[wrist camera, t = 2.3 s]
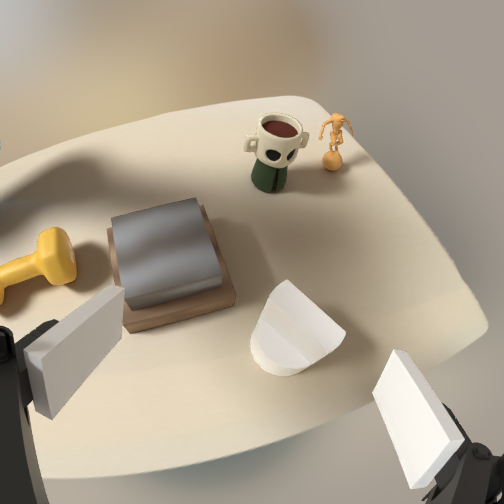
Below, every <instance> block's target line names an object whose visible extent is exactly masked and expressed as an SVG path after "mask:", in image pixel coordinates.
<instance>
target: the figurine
mask: <svg viewBox="0 0 504 504" xmlns="http://www.w3.org/2000/svg"><path fill="white" fill-rule="evenodd" d="M331 122H332V127H333V131H331V132H330V136H331V141H332V142H331V143H330V151H328V152H327V153H325V154H324V156H323V160H322V161H323V165H324V166H325V168H327V169H328V170H331V171H334V170H337V169H339V168H340V167H341V165H342V157H341V155H340V154H339V152H338V148H337V145H340V144H342V143H343V138H342V130H340V128H341V127H342V126H343V122H347V123H348V126H349V128H350V130H351V131H352V127H351V126H350V122H349V121H348V120H347V119H345V118H344V116H343V115H339V114H337V113H334V114H333V115H332V116H331V118H330V119H329V120H327V121H326V122H324V123H323V124H322V129H321V133H320V135H319V138H320V139H321V141H322V138H323V136H322V133H323V131H324V128H325V125H327V124H329V123H331ZM336 135H337V136H336ZM352 135H353V131H352ZM337 139H338V140H339V141H337V142H336V140H337ZM333 145H335V151H332V146H333Z"/></svg>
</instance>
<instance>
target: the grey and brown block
mask: <svg viewBox="0 0 504 504" xmlns="http://www.w3.org/2000/svg"><path fill="white" fill-rule="evenodd" d="M111 221H112V228H108V229H107V234H108V242H109V250H110V257H111V263H112V270H113V276H114V282H115V285H116V286H119V287H122V288H125V294H124V306H123V321H122V323H123V326H124V327H125V328H126V329H127V331H128V332H129V333H130V334H131V333H135V332H139V331H143V330H146V329H150V328H154V327H158V326H162V325H165V324H169V323H173V322H177V321H180V320H184V319H188V318H191V317H195V316H198V315H202V314H206V313H209V312H213V311H216V310H220V309H223V308H227V307H230V306H233V305H234V301H235V296H236V293H235V291H234V288H233V285H232V283H231V280H230V277H229V275H228V272H227V269H226V266H225V264H224V261H223V258H222V255H221V253H220V250H219V247H218V245H217V242H216V239H215V236H214V233H213V231H212V228H211V225H210V222H209V219H208V217H207V214H206V211H205V208H204V205H203V206H199V205H198V202H197V199H196V198H192V199H187V200H183V201H178V202H174V203H169V204H165V205H161V206H157V207H153V208H148V209H144V210H140V211H136V212H132V213H128V214H124V215H120V216H117V217H113V218H111Z"/></svg>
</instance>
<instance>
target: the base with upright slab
mask: <svg viewBox="0 0 504 504" xmlns="http://www.w3.org/2000/svg"><path fill="white" fill-rule="evenodd" d="M345 335H346V332H345V331H344V330H343V329H342V328H341V327H340V326H339V325H338V324H336V323H335V322H334V321H333V320H332V319H331V318H330V317H329V316H328V315H326V314H325V313H324V312H323V311H322V310H321V309H320V308H319V307H318V306H316V305H315V304H314V303H313V302H312V301H311V300H310V299H309V298H308V297H306V296H305V295H304V294H303V293H302V292H301V291H300V290H299V289H297V288H296V287H295V286H294V285H293V284H292V283H291V282H290V281H289V280H285V281H283V282H282V283H280V284H279V285H278V286H276V287H275V289H274V290H273V291H272V292H271V294H270V295H269V297H268V300H267V302H266V304H265V306H264V309H263V311H262V313H261V315H260V317H259V320H258V322H257V324H256V326H255V328H254V331H253V333H252V335H251V342H250V346H251V353H252V355H253V357H254V359H255V361H256V362H257V364H258V365H259V366H260V367H261V368H262V369H264V370H265V371H266V372H268V373H270V374H273V375H276V376H290V375H294V374H296V373H299V372H301V371H302V370H304V369H306V368H307V367H309V366H310V365H312V364H314V363H315V362H317V361H318V360H320V359H321V358H323V357H325V356H326V355H328V354H329V353H331V352H332V351H333V350H334V349H336V348H337V347H338V346H339V345H340V344H341V342H342V340H343V339H344V337H345Z"/></svg>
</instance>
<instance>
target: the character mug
mask: <svg viewBox="0 0 504 504" xmlns="http://www.w3.org/2000/svg"><path fill="white" fill-rule="evenodd" d="M301 138H303V139H302V142H301ZM308 139H309V133H307V132H303V128H302V125H301V123H300V122H299V121H298V120H296V119H295V118H293V117H291V116H289V115H286V114H282V113H269V114H265V115H264V116H262V117H261V118H260V120H259V121H258V125H257V131H256V134H254V135H247V136H246V138H245V143H244V151H245V152H254V153H255V155H256V157H257V160H256V163H255V165H254V168H253V171H252V174H251V178H252V182H253V183H254V185H255V187H257V188H258V189H260V190H262V191H266V192H271V190H272V187H276V186H277V188H276V191H279V190H281V189H282V188H283V187H284V185H285V182H286V176H287V167H288V165H289V164H291V163H292V162H293V161H294V160H295V158H296V156H297V153H298V150H299V148H305V147H306V145H307V142H308ZM251 141H255V142H254V146H250V143H251ZM300 142H301V143H300Z"/></svg>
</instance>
